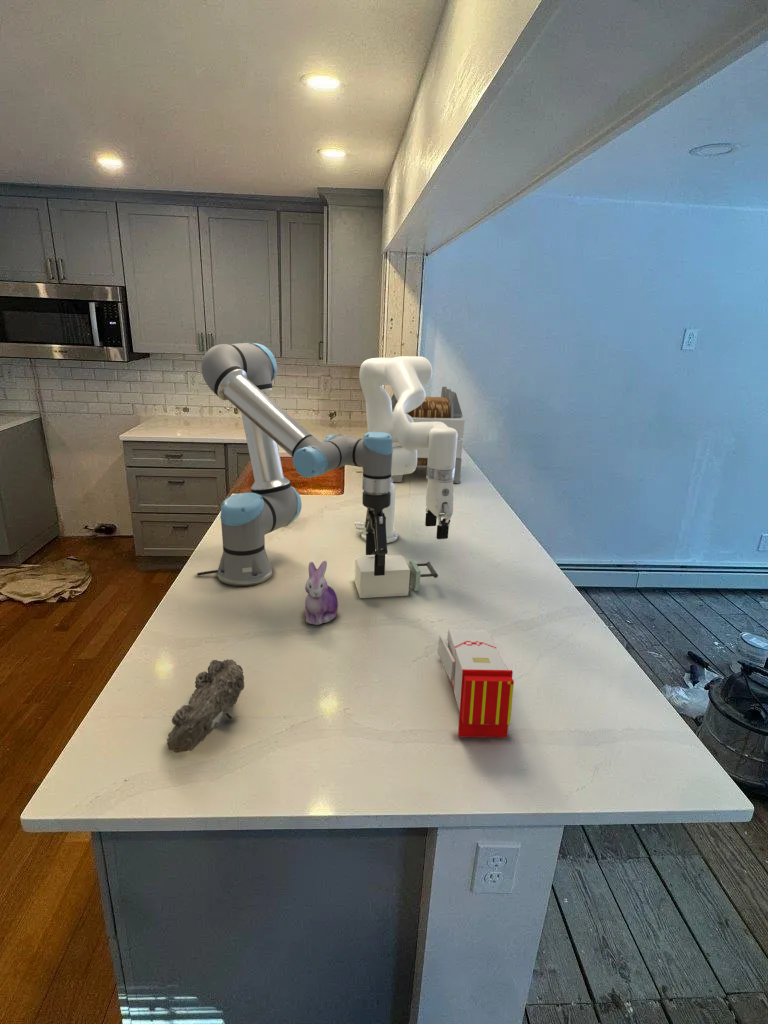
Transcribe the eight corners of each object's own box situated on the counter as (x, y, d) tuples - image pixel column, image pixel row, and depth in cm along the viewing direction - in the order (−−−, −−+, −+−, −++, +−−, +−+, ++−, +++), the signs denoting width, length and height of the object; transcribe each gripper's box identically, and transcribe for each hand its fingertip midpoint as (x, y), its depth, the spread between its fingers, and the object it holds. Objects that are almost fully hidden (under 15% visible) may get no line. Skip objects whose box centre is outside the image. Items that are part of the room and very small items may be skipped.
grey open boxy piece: (382, 463, 289) (386, 382, 275) (445, 464, 293) (451, 384, 279) (390, 482, 257) (394, 392, 243) (460, 483, 261) (468, 394, 247)
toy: (488, 613, 130) (523, 677, 101) (484, 667, 133) (517, 744, 104) (435, 612, 130) (455, 676, 101) (432, 666, 133) (451, 743, 103)
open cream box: (400, 579, 166) (402, 555, 163) (408, 595, 157) (410, 569, 155) (354, 582, 163) (355, 557, 161) (360, 598, 155) (360, 571, 152)
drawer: (429, 576, 167) (430, 557, 165) (437, 589, 159) (438, 570, 157) (370, 579, 163) (370, 560, 161) (375, 593, 156) (376, 573, 154)
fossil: (192, 660, 117) (244, 628, 112) (224, 691, 120) (276, 661, 115) (142, 746, 98) (202, 712, 93) (182, 779, 101) (242, 748, 96)
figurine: (310, 630, 138) (310, 574, 133) (296, 610, 147) (296, 557, 141) (346, 622, 142) (347, 568, 137) (330, 603, 151) (331, 552, 146)
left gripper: (401, 505, 139) (397, 583, 146) (381, 477, 162) (379, 546, 169) (371, 506, 138) (369, 585, 145) (355, 478, 161) (354, 547, 168)
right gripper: (465, 481, 146) (459, 543, 152) (442, 464, 162) (438, 520, 168) (438, 482, 145) (433, 544, 150) (417, 465, 160) (414, 522, 166)
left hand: (374, 564), depth 157 cm, fingers open, 13 cm apart
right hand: (436, 532), depth 159 cm, fingers open, 9 cm apart
